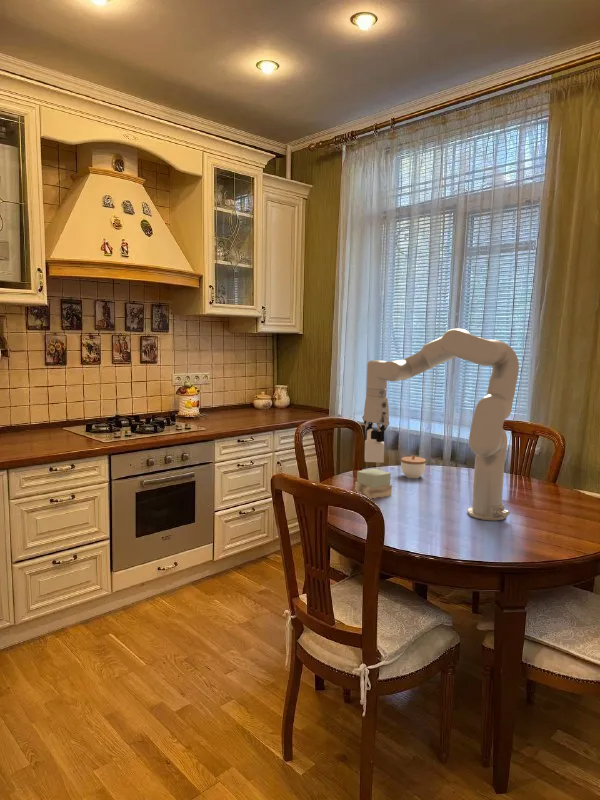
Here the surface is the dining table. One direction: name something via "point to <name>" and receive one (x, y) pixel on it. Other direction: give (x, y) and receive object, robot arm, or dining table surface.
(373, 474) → the tower top block
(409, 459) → the lidded jar
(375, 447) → the medicine bottle
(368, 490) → the tower bottom block
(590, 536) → the dining table surface
